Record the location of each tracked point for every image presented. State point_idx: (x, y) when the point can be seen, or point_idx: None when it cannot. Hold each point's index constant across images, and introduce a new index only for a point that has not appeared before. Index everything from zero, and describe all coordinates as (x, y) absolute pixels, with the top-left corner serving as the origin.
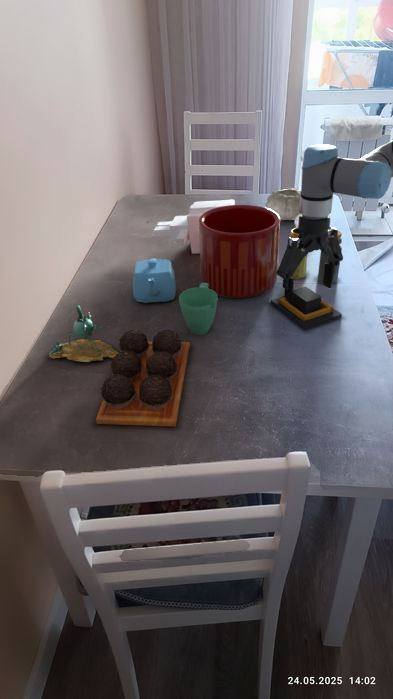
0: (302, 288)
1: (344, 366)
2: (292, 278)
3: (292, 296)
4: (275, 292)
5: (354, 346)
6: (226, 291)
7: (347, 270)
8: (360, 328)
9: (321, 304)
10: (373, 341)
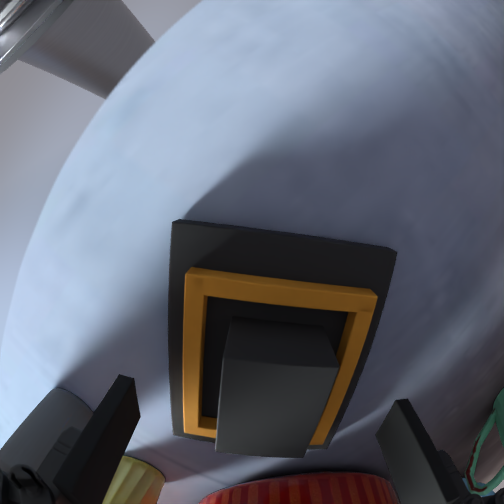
0: (243, 449)
1: (414, 17)
2: (453, 500)
3: (405, 416)
4: (257, 464)
5: (309, 37)
6: (392, 491)
7: (17, 390)
8: (179, 104)
9: (202, 337)
10: (218, 20)
